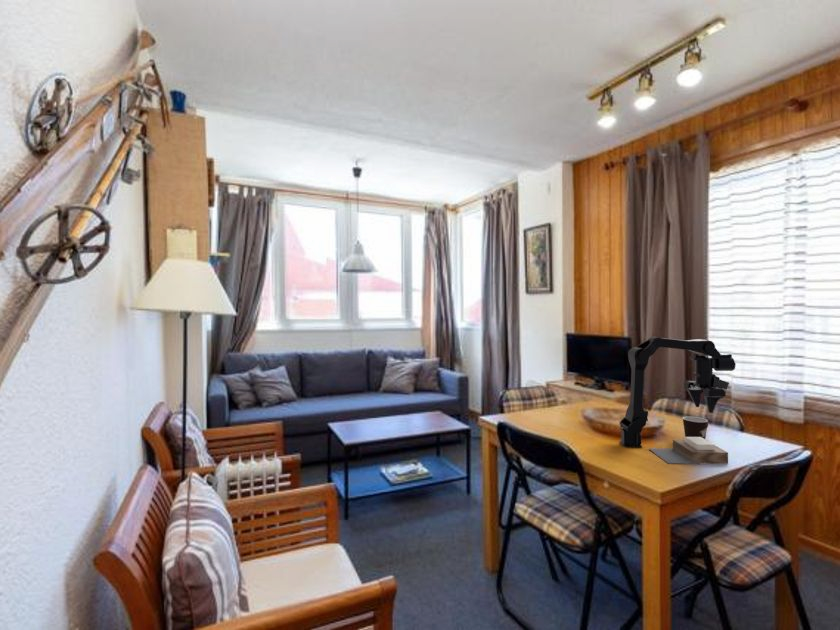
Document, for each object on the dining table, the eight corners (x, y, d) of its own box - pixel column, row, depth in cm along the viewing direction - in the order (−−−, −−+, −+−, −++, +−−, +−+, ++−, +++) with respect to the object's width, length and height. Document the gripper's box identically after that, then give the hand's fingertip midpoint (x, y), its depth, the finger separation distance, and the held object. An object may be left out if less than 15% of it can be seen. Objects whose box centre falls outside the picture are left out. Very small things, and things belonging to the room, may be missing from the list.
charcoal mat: (667, 463, 151) (667, 462, 151) (649, 449, 166) (649, 448, 166) (700, 464, 150) (700, 463, 150) (678, 449, 165) (678, 448, 165)
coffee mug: (690, 447, 168) (690, 422, 168) (678, 440, 176) (678, 416, 176) (720, 447, 167) (720, 422, 167) (706, 440, 176) (706, 416, 176)
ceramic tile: (697, 449, 153) (697, 444, 153) (684, 441, 162) (684, 436, 162) (714, 450, 153) (714, 444, 153) (700, 442, 162) (700, 436, 162)
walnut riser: (692, 463, 151) (692, 452, 151) (672, 449, 165) (672, 439, 165) (728, 463, 150) (728, 452, 150) (705, 450, 164) (705, 440, 164)
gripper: (740, 374, 158) (741, 416, 158) (711, 367, 177) (711, 404, 177) (709, 374, 159) (709, 415, 159) (683, 367, 178) (683, 404, 178)
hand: (704, 409), depth 168 cm, fingers open, 9 cm apart
